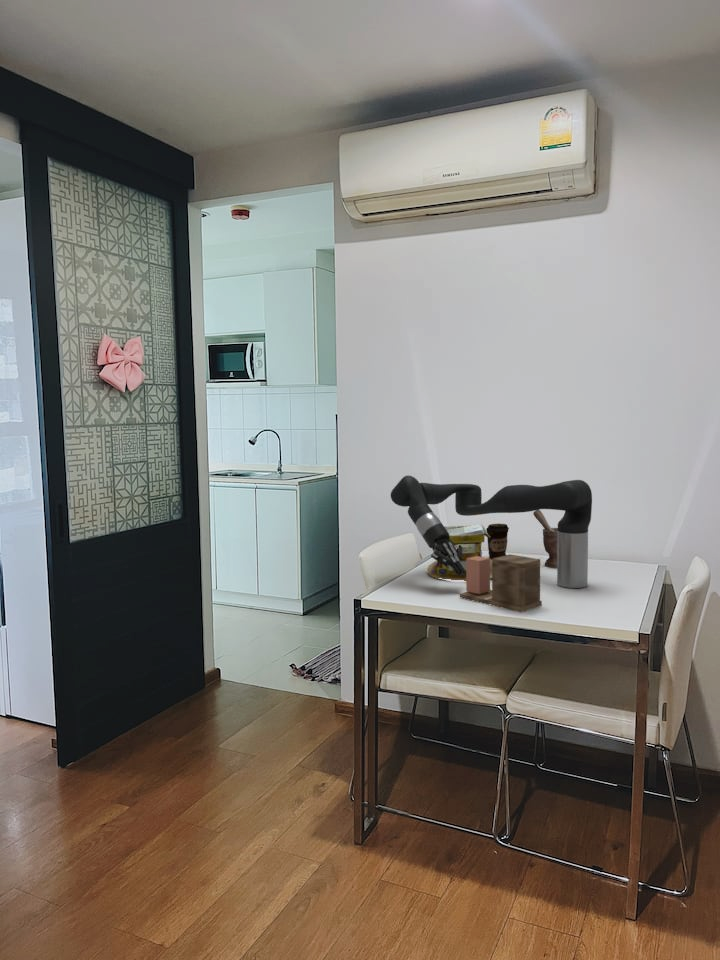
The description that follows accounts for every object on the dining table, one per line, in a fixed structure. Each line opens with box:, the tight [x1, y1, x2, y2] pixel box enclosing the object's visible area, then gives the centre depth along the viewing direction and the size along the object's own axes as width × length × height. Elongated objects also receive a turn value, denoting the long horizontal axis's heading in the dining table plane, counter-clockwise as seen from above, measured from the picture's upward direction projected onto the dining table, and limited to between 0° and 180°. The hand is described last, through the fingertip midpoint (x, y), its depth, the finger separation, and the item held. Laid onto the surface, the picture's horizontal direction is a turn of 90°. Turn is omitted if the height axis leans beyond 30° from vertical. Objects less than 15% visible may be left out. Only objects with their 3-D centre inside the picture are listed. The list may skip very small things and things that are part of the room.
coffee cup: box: [485, 523, 510, 560], centre depth 270 cm, size 9×8×13 cm
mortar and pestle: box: [532, 509, 558, 568], centre depth 257 cm, size 12×9×20 cm
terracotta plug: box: [465, 556, 491, 594], centre depth 218 cm, size 5×5×10 cm
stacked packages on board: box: [426, 523, 492, 581], centre depth 248 cm, size 25×25×17 cm
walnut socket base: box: [459, 553, 543, 613], centre depth 212 cm, size 22×10×13 cm, turn 42°
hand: (462, 574), depth 223 cm, fingers closed
